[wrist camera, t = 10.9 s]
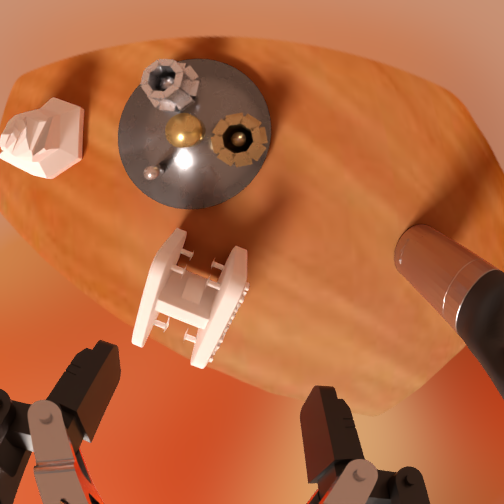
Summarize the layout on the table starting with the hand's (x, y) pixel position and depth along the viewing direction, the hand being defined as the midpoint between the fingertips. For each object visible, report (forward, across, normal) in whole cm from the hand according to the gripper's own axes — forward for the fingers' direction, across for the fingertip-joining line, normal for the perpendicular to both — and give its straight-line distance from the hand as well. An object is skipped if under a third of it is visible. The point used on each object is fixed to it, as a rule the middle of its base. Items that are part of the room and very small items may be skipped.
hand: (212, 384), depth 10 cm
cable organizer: (+29, +4, +11) cm, 31 cm away
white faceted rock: (+28, +32, -7) cm, 43 cm away
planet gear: (+27, +12, -15) cm, 33 cm away
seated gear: (+27, +2, -9) cm, 29 cm away
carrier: (+29, +9, -9) cm, 31 cm away
